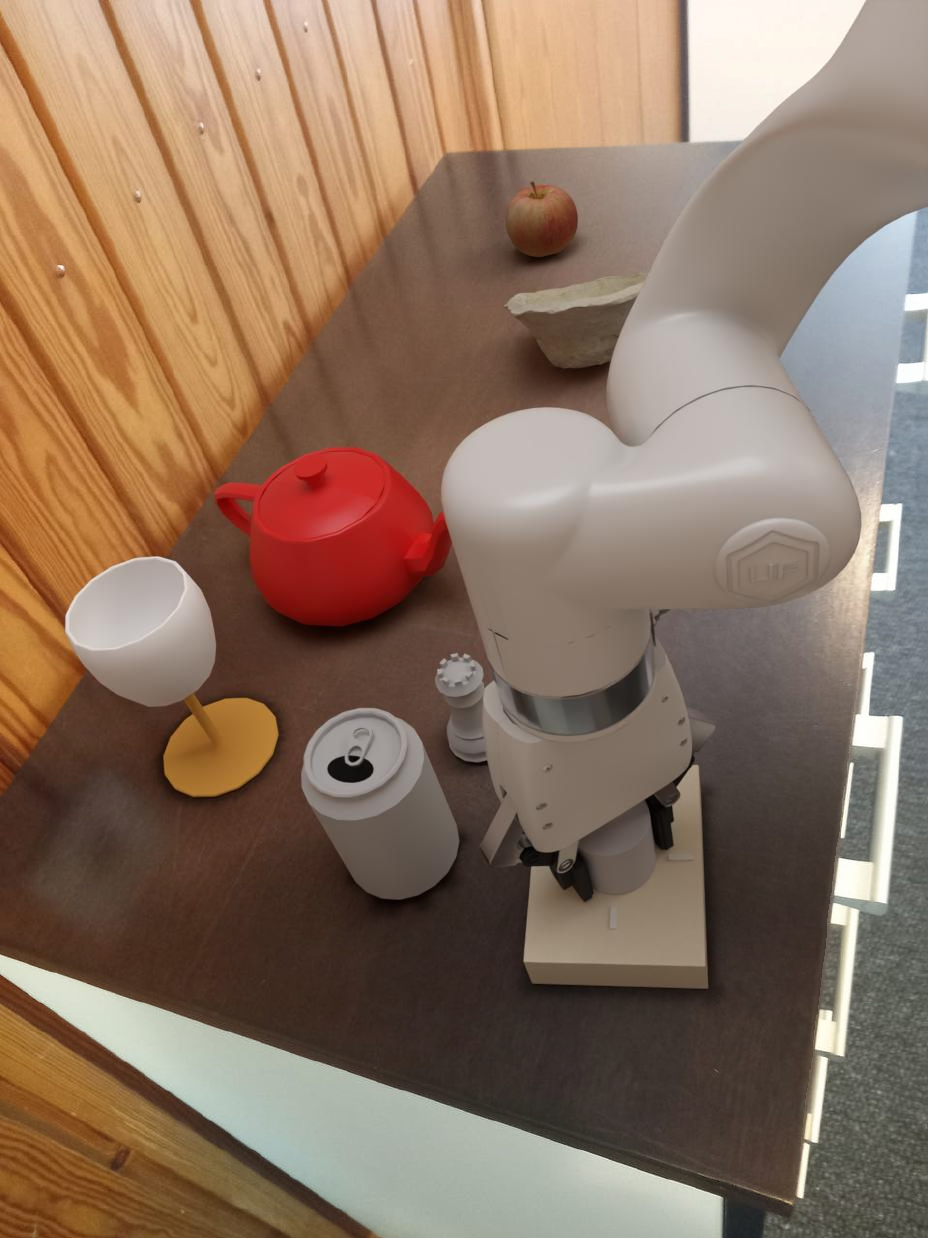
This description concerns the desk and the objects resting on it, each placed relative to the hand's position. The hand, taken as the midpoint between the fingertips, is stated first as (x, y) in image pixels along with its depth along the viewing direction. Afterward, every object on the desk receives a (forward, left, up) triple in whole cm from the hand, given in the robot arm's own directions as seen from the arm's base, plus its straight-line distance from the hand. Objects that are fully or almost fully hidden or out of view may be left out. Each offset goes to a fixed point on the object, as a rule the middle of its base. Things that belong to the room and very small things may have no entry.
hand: (614, 854), depth 61 cm
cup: (+30, -11, -4) cm, 32 cm away
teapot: (+22, -28, -4) cm, 36 cm away
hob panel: (0, 0, -3) cm, 3 cm away
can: (+14, -2, -4) cm, 15 cm away
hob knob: (0, 0, 0) cm, 0 cm away
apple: (+10, -79, -4) cm, 80 cm away
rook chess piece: (+10, -11, -4) cm, 15 cm away
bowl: (+4, -57, -4) cm, 57 cm away
